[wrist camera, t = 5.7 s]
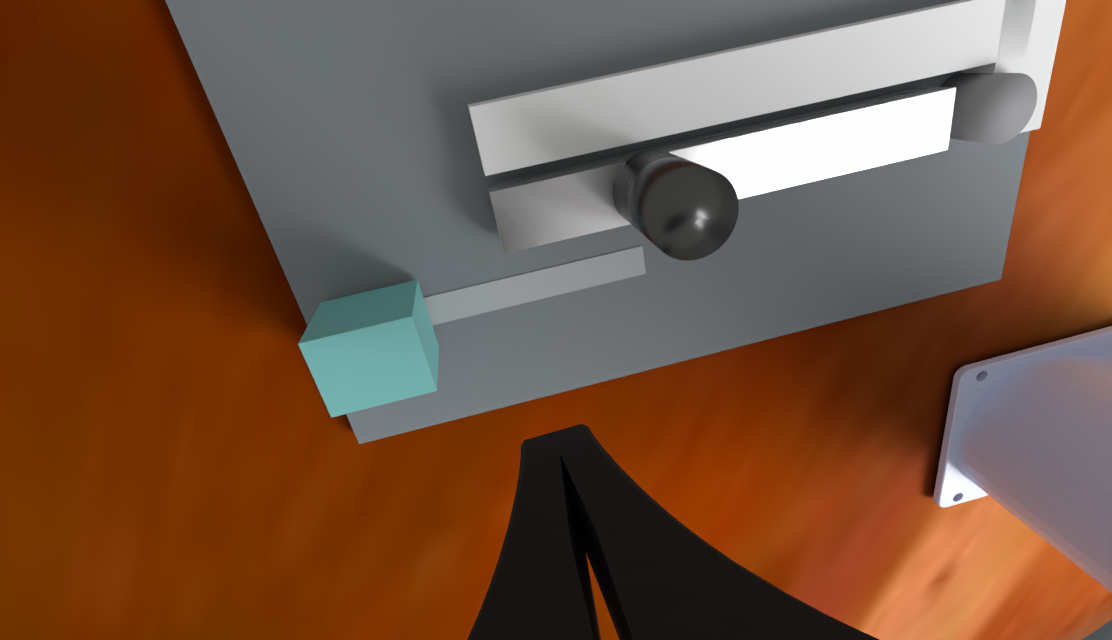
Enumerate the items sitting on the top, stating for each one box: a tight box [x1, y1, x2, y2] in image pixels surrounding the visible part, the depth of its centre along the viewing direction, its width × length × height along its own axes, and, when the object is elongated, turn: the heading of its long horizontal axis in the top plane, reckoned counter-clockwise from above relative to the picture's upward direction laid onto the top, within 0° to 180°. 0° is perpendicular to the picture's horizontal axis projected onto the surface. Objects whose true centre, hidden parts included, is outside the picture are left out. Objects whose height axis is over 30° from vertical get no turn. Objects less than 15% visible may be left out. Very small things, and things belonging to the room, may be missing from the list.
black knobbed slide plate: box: [487, 86, 956, 261], centre depth 15 cm, size 14×2×4 cm, turn 100°
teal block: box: [298, 280, 439, 418], centre depth 16 cm, size 3×2×3 cm
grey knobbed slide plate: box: [165, 0, 1066, 444], centre depth 16 cm, size 25×15×2 cm, turn 100°
